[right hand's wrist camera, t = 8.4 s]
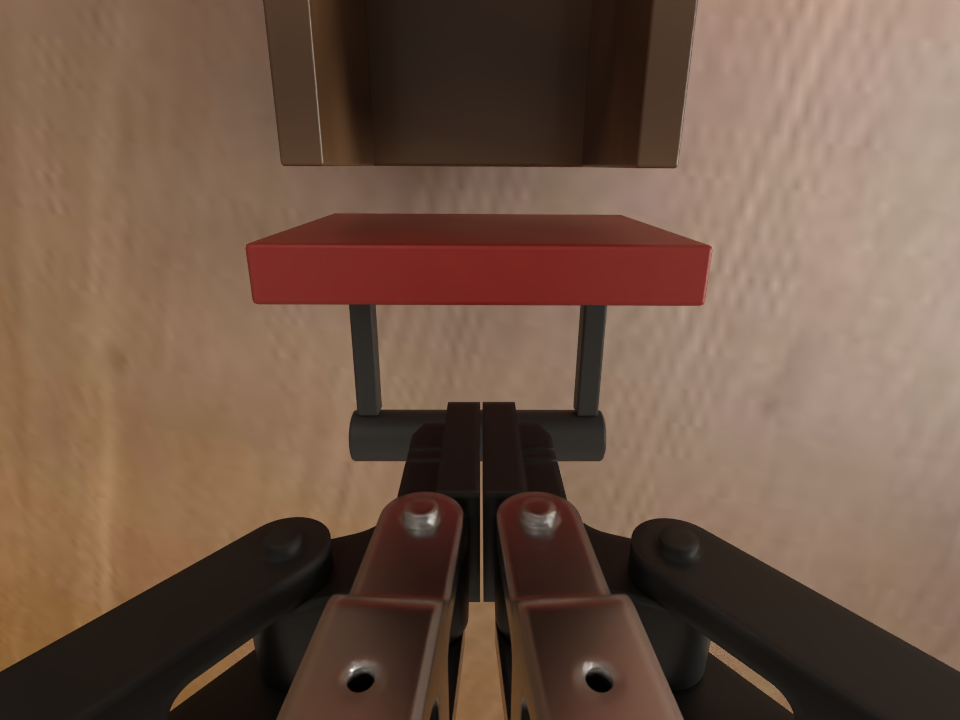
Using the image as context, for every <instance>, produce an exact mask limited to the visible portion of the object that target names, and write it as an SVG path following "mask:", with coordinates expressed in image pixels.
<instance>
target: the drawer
mask: <svg viewBox="0 0 960 720" xmlns="http://www.w3.org/2000/svg"><path fill="white" fill-rule="evenodd" d="M263 4H264V13H265V22H266V31H267V40H268V49H269V58H270V67H271V76H272V85H273V94H274V103H275V112H276V122H277V131H278V140H279V149H280V158H281V164H282V165H284V166H496V167H610V168H676V167H677V166H678V161H679V153H680V144H681V136H682V128H683V119H684V111H685V103H686V95H687V86H688V78H689V70H690V62H691V53H692V45H693V37H694V29H695V20H696V12H697V4H698V0H263ZM246 255H247V262H248V269H249V276H250V284H251V291H252V298H253V302H254V303H256V304H345V305H349V309H350V322H351V335H352V348H353V361H354V374H355V387H356V400H357V410H355V411H354V412H353V414H352V417H351V421H350V428H349V449H350V454H351V457H352V459H353V460H354V461H406V459H407V455H408V451H409V446H410V442H411V438H412V435H413V434H414V433H415V432H416V431H417V430H418V429H419V428H420V427H421V426H422V425H423V424H424V423H445V422H446V414H447V410H381V407H382V402H381V386H380V369H379V353H378V336H377V320H376V305H581V307H580V321H579V335H578V350H577V364H576V378H575V392H574V409H575V410H516V415H517V422H518V423H539V424H540V425H541V426H542V427H543V428H544V429H545V430H546V431H547V432H548V433H549V434H550V435H551V438H552V442H553V446H554V451H555V454H556V458H557V461H601V460H602V459H603V457H604V454H605V449H606V427H605V421H604V417H603V415H602V413H601V411H599V410H598V404H599V392H600V381H601V369H602V358H603V346H604V335H605V323H606V312H607V305H636V306H700V305H703V304H704V302H705V296H706V289H707V282H708V275H709V269H710V262H711V255H712V247H711V246H709V245H706V244H703V243H701V242H698V241H695V240H692V239H689V238H686V237H683V236H680V235H677V234H674V233H671V232H668V231H666V230H663V229H660V228H657V227H654V226H651V225H648V224H645V223H642V222H639V221H636V220H633V219H631V218H628V217H625V216H622V215H522V214H332V215H329V216H326V217H323V218H321V219H318V220H315V221H312V222H309V223H306V224H303V225H300V226H297V227H295V228H292V229H289V230H286V231H283V232H280V233H277V234H274V235H271V236H269V237H266V238H263V239H260V240H257V241H254V242H251V243H249V244H247V245H246ZM480 461H483V410H480Z"/></svg>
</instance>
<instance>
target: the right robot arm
mask: <svg viewBox="0 0 960 720" xmlns="http://www.w3.org/2000/svg"><path fill="white" fill-rule="evenodd" d="M483 590H484V602H495V645H496V653H497V661H498V670H499V678H500V686H501V695H502V703H503V711H504V720H960V672H959V671H957V670H955V669H954V668H952V667H950V666H948V665H946V664H945V663H943V662H941V661H939V660H937V659H936V658H934V657H932V656H930V655H928V654H927V653H925V652H923V651H921V650H919V649H918V648H916V647H914V646H912V645H910V644H909V643H907V642H905V641H903V640H902V639H900V638H898V637H896V636H894V635H893V634H891V633H889V632H887V631H885V630H884V629H882V628H880V627H878V626H876V625H875V624H873V623H871V622H869V621H867V620H866V619H864V618H862V617H860V616H858V615H857V614H855V613H853V612H851V611H850V610H848V609H846V608H844V607H842V606H841V605H839V604H837V603H835V602H833V601H832V600H830V599H828V598H826V597H824V596H823V595H821V594H819V593H817V592H815V591H814V590H812V589H810V588H808V587H806V586H805V585H803V584H801V583H799V582H797V581H796V580H794V579H792V578H790V577H789V576H787V575H785V574H783V573H781V572H780V571H778V570H776V569H774V568H772V567H771V566H769V565H767V564H765V563H763V562H762V561H760V560H758V559H756V558H754V557H753V556H751V555H749V554H747V553H745V552H744V551H742V550H740V549H738V548H737V547H735V546H733V545H731V544H729V543H728V542H726V541H724V540H722V539H720V538H719V537H717V536H715V535H713V534H711V533H710V532H708V531H706V530H704V529H702V528H700V527H698V526H696V525H694V524H691V523H689V522H685V521H681V520H676V519H668V518H660V519H652V520H649V521H645V522H643V523H641V524H640V525H639V526H637V527H636V528H635V530H634V531H633V534H632V538H631V539H630V538H626V537H621V536H617V535H612V534H608V533H605V532H601V531H599V530H596V529H594V528H592V527H589V526H587V525H586V524H584V523H583V522H582V519H581V517H580V514H579V512H578V511H577V509H576V508H575V507H574V506H573V505H572V504H571V503H570V502H569V501H567V499H566V495H565V491H564V487H563V483H562V479H561V474H560V470H559V466H558V462H557V458H556V454H555V451H554V446H553V442H552V438H551V435H550V434H549V433H548V432H547V431H546V430H545V429H544V428H543V427H542V426H541V425H540V424H539V423H518V422H517V415H516V408H515V402H483ZM469 602H480V402H448V407H447V414H446V422H445V423H424V424H423V425H422V426H421V427H420V428H419V429H418V430H417V431H416V432H415V433H414V434H413V435H412V438H411V442H410V446H409V451H408V455H407V459H406V463H405V467H404V472H403V476H402V480H401V484H400V489H399V493H398V497H397V498H396V499H395V500H393V501H391V502H390V503H389V504H388V505H387V506H386V507H385V508H384V509H383V511H382V512H381V514H380V517H379V519H378V522H377V525H376V526H375V527H373V528H371V529H368V530H366V531H363V532H360V533H356V534H352V535H348V536H343V537H339V538H334V539H331V536H330V532H329V530H328V529H327V527H326V526H325V525H324V524H322V523H321V522H319V521H317V520H314V519H311V518H305V517H292V518H285V519H280V520H276V521H273V522H270V523H268V524H265V525H263V526H261V527H259V528H258V529H256V530H254V531H252V532H250V533H249V534H247V535H245V536H243V537H241V538H240V539H238V540H236V541H234V542H232V543H231V544H229V545H227V546H225V547H223V548H222V549H220V550H218V551H216V552H215V553H213V554H211V555H209V556H207V557H206V558H204V559H202V560H200V561H198V562H197V563H195V564H193V565H191V566H189V567H188V568H186V569H184V570H182V571H180V572H179V573H177V574H175V575H173V576H171V577H170V578H168V579H166V580H164V581H163V582H161V583H159V584H157V585H155V586H154V587H152V588H150V589H148V590H146V591H145V592H143V593H141V594H139V595H137V596H136V597H134V598H132V599H130V600H128V601H127V602H125V603H123V604H121V605H119V606H118V607H116V608H114V609H112V610H111V611H109V612H107V613H105V614H103V615H102V616H100V617H98V618H96V619H94V620H93V621H91V622H89V623H87V624H85V625H84V626H82V627H80V628H78V629H76V630H75V631H73V632H71V633H69V634H67V635H66V636H64V637H62V638H60V639H59V640H57V641H55V642H53V643H51V644H50V645H48V646H46V647H44V648H42V649H41V650H39V651H37V652H35V653H33V654H32V655H30V656H28V657H26V658H24V659H23V660H21V661H19V662H17V663H15V664H14V665H12V666H10V667H8V668H7V669H5V670H3V671H1V672H0V720H456V711H457V703H458V695H459V686H460V678H461V670H462V661H463V653H464V645H465V628H466V626H467V623H468V612H469ZM251 638H253V641H254V646H255V650H253V651H252V652H251V653H249V654H248V655H247V656H245V657H244V658H243V659H241V660H240V661H238V662H237V663H236V664H234V665H233V666H232V667H230V668H229V669H228V670H226V671H225V672H223V673H222V674H221V675H219V676H218V677H217V678H215V679H214V680H213V681H211V682H210V683H208V684H207V685H206V686H204V687H203V688H202V689H200V690H199V691H198V692H196V693H195V694H193V695H192V696H191V697H189V698H188V699H187V700H185V701H184V702H183V703H181V704H180V705H178V706H177V707H176V708H174V709H173V710H172V711H170V708H171V706H172V704H173V702H174V700H175V699H176V697H177V696H178V694H179V693H180V692H181V691H182V690H183V689H184V688H185V687H186V686H187V685H188V684H189V683H190V682H191V681H193V680H194V679H195V678H197V677H198V676H200V675H201V674H202V673H204V672H205V671H207V670H208V669H209V668H211V667H212V666H214V665H215V664H216V663H218V662H219V661H221V660H222V659H223V658H225V657H226V656H228V655H229V654H230V653H232V652H233V651H235V650H236V649H237V648H239V647H240V646H242V645H243V644H244V643H246V642H247V641H249V640H250V639H251ZM711 641H713V642H714V643H716V644H717V645H718V646H720V647H721V648H723V649H724V650H725V651H727V652H728V653H730V654H731V655H732V656H734V657H735V658H737V659H738V660H739V661H741V662H742V663H744V664H745V665H746V666H748V667H749V668H751V669H752V670H753V671H755V672H756V673H758V674H759V675H760V676H762V677H763V678H765V679H766V680H767V681H769V682H770V683H771V684H773V685H774V686H775V687H776V688H777V689H778V690H779V691H780V692H781V693H782V694H783V695H784V696H785V698H786V699H787V701H788V702H789V704H790V706H791V708H792V710H793V713H794V714H793V713H791V712H790V711H788V710H787V709H786V708H784V707H783V706H782V705H780V704H779V703H777V702H776V701H775V700H773V699H772V698H771V697H769V696H768V695H767V694H765V693H764V692H762V691H761V690H760V689H758V688H757V687H756V686H754V685H753V684H752V683H750V682H749V681H747V680H746V679H745V678H743V677H742V676H741V675H739V674H738V673H737V672H735V671H734V670H732V669H731V668H730V667H728V666H727V665H726V664H724V663H723V662H722V661H720V660H719V659H717V658H716V657H715V656H713V655H712V654H711V653H709V652H708V651H709V647H710V642H711Z"/></svg>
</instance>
